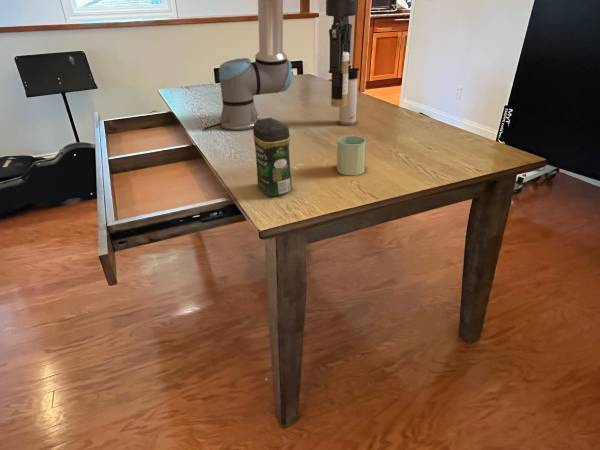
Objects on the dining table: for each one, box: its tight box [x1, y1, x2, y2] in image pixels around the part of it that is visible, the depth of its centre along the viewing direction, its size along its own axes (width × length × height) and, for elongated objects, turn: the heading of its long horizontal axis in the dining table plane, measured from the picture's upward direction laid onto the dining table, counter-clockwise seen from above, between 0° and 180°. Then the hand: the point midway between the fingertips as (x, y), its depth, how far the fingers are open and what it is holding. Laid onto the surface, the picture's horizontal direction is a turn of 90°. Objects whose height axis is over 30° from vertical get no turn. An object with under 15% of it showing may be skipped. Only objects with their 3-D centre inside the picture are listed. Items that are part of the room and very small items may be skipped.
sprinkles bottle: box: [330, 52, 349, 108], centre depth 108 cm, size 5×5×13 cm
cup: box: [336, 134, 367, 176], centre depth 118 cm, size 8×8×9 cm
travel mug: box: [338, 67, 360, 126], centre depth 154 cm, size 6×7×20 cm
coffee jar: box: [252, 117, 293, 197], centre depth 105 cm, size 10×8×19 cm
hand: (339, 96), depth 110 cm, fingers closed on sprinkles bottle, 4 cm apart
